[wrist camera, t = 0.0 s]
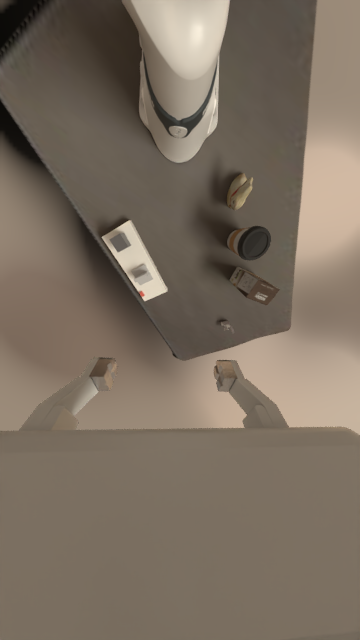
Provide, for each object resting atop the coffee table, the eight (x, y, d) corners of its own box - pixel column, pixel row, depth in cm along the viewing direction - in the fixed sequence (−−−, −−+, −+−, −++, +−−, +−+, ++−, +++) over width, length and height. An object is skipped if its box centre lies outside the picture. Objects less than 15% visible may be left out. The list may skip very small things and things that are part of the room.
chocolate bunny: (219, 198, 41) (230, 191, 33) (240, 170, 38) (258, 155, 30) (229, 213, 43) (242, 210, 35) (251, 188, 40) (270, 179, 32)
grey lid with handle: (131, 271, 50) (128, 274, 47) (144, 264, 49) (142, 266, 45) (140, 284, 53) (137, 288, 50) (153, 278, 52) (151, 282, 49)
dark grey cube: (114, 238, 44) (109, 239, 41) (124, 232, 43) (119, 233, 40) (121, 250, 46) (117, 252, 43) (131, 245, 45) (128, 246, 42)
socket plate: (104, 236, 46) (100, 237, 43) (131, 220, 43) (128, 220, 41) (145, 298, 60) (144, 302, 57) (167, 289, 57) (167, 292, 55)
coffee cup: (219, 245, 48) (233, 251, 36) (235, 220, 44) (258, 218, 32) (235, 257, 51) (255, 267, 39) (252, 235, 47) (279, 238, 35)
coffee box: (228, 280, 56) (244, 297, 43) (237, 266, 53) (257, 279, 40) (246, 288, 58) (267, 305, 45) (255, 274, 55) (281, 289, 42)
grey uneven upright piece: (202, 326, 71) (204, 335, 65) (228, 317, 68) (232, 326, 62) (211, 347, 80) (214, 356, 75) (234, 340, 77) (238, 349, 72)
